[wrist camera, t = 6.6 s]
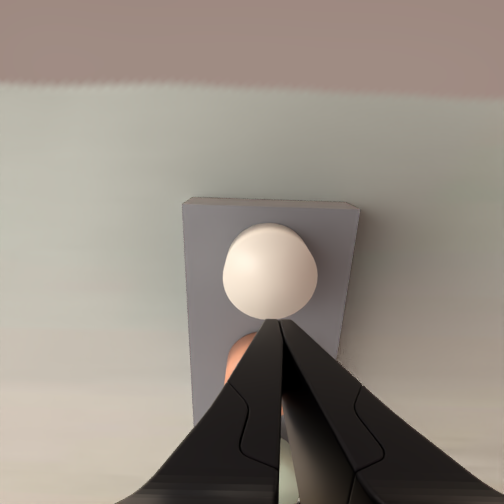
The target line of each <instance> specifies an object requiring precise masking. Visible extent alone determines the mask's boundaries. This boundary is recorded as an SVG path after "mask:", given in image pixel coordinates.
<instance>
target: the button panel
mask: <svg viewBox="0 0 504 504" xmlns="http://www.w3.org/2000/svg"><path fill="white" fill-rule="evenodd" d="M182 216H183V234H184V253H185V272H186V291H187V309H188V328H189V347H190V365H191V384H192V403H193V422H194V427H195V425H196V424H197V423H198V422H199V421H200V419H201V418H202V417H203V415H204V414H205V413H206V412H207V410H208V409H209V408H210V406H211V405H212V403H213V402H214V400H215V399H216V397H217V396H218V394H219V393H220V391H221V390H222V388H223V387H224V382H225V374H226V366H227V358H228V354H229V351H230V349H231V348H232V346H233V345H234V344H235V343H236V342H237V341H238V340H239V339H241V338H242V337H244V336H246V335H248V334H251V333H255V332H258V330H259V328H260V327H261V325H262V324H263V322H264V319H258V318H254V317H251V316H249V315H247V314H245V313H243V312H241V311H240V310H239V309H238V308H236V307H235V306H234V305H233V304H232V302H231V301H230V300H229V298H228V296H227V294H226V292H225V289H224V285H223V270H224V266H225V262H226V258H227V254H228V251H229V248H230V246H231V244H232V242H233V241H234V239H235V238H236V237H237V236H238V235H239V234H240V233H241V232H242V231H244V230H245V229H247V228H249V227H251V226H254V225H257V224H262V223H276V224H280V225H283V226H286V227H288V228H290V229H292V230H293V231H294V232H296V233H297V234H298V235H299V236H300V237H301V239H302V240H303V241H304V243H305V245H306V246H307V248H308V250H309V251H310V253H311V255H312V256H313V258H314V260H315V263H316V267H317V273H318V277H317V285H316V288H315V291H314V293H313V295H312V297H311V298H310V300H309V301H308V302H307V304H306V305H305V306H304V307H303V308H301V309H300V310H299V311H297V312H296V313H294V314H292V315H290V316H287V317H285V318H281V319H291V320H293V321H294V322H295V323H296V324H297V325H298V326H299V327H300V328H301V329H303V330H304V331H305V332H306V333H307V334H308V335H309V336H310V337H311V338H312V339H313V340H315V341H316V342H317V343H318V344H319V345H320V346H321V347H322V348H323V349H324V350H325V351H326V352H328V353H329V354H330V355H331V356H332V357H333V358H334V359H335V360H336V359H337V353H338V346H339V340H340V334H341V328H342V322H343V315H344V309H345V303H346V297H347V291H348V284H349V278H350V272H351V266H352V260H353V253H354V247H355V241H356V235H357V229H358V222H359V216H360V209H358V208H356V207H354V206H352V205H350V204H348V203H346V202H331V201H298V200H266V199H234V198H202V197H192V198H190V199H189V200H187V201H186V202H184V203H183V204H182ZM279 320H280V319H278V321H279ZM281 438H282V439H284V440H285V441H287V442H288V443H289V440H288V434H287V429H286V424H285V418H284V415H281Z"/></svg>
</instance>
